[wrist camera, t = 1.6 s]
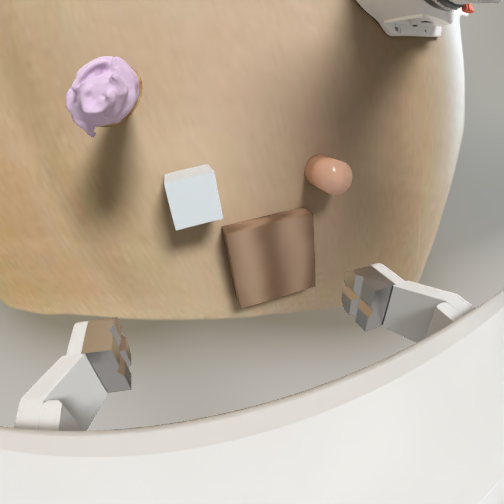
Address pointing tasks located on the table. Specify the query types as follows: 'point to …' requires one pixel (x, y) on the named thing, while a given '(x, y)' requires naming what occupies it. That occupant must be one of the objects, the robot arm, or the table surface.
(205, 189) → the white cube
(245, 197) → the table surface
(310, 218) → the walnut plinth
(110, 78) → the ice cream cone
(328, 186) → the peach rounded block
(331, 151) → the table surface
